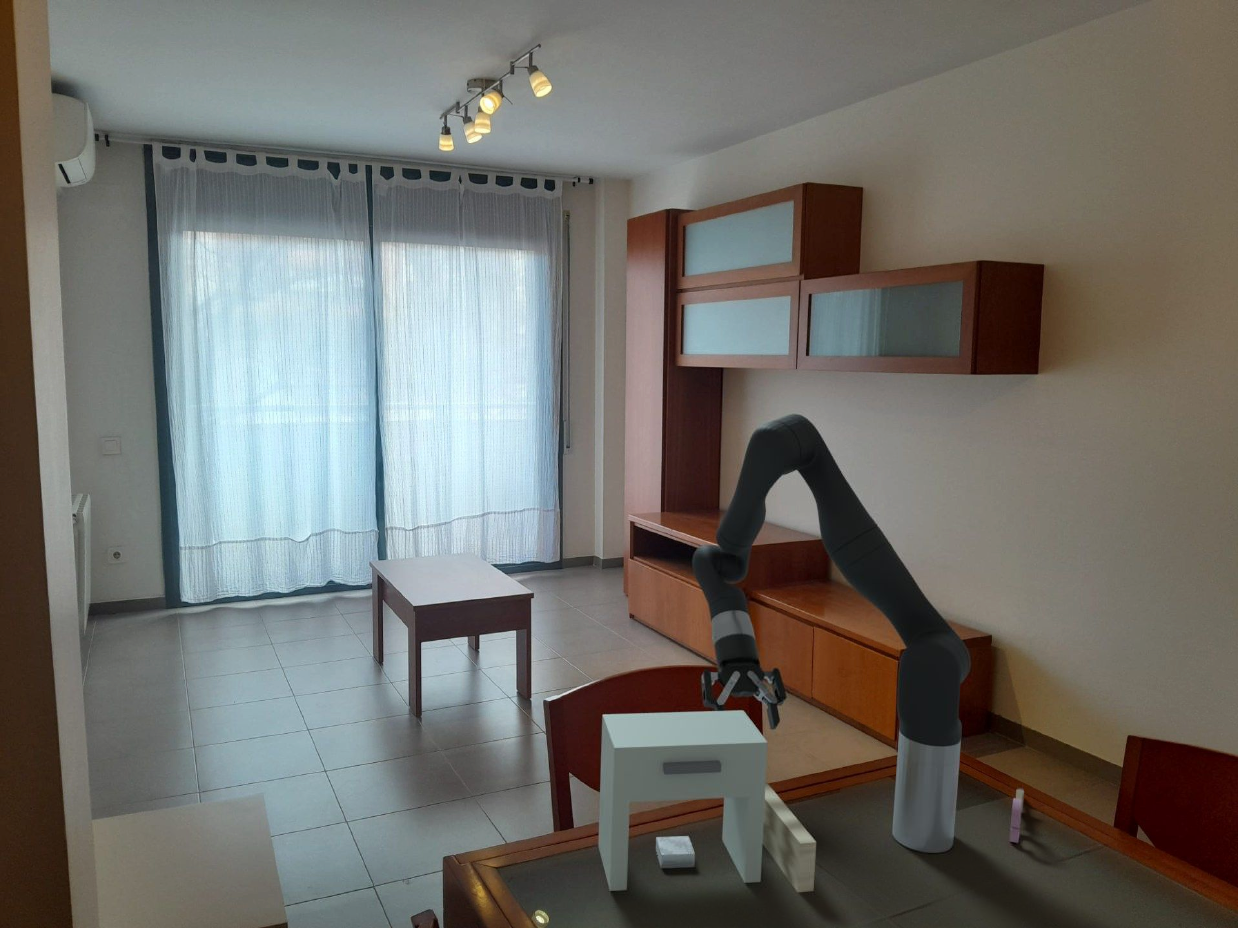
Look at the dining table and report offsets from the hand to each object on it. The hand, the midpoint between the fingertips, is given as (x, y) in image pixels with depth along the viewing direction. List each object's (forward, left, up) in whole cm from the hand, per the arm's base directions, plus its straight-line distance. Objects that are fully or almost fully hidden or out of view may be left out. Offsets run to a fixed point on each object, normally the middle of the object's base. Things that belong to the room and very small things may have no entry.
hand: (750, 728), depth 155 cm
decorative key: (-20, +40, -13) cm, 47 cm away
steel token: (+23, -2, -13) cm, 26 cm away
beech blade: (+12, +10, -13) cm, 21 cm away
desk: (+24, -1, -13) cm, 27 cm away
